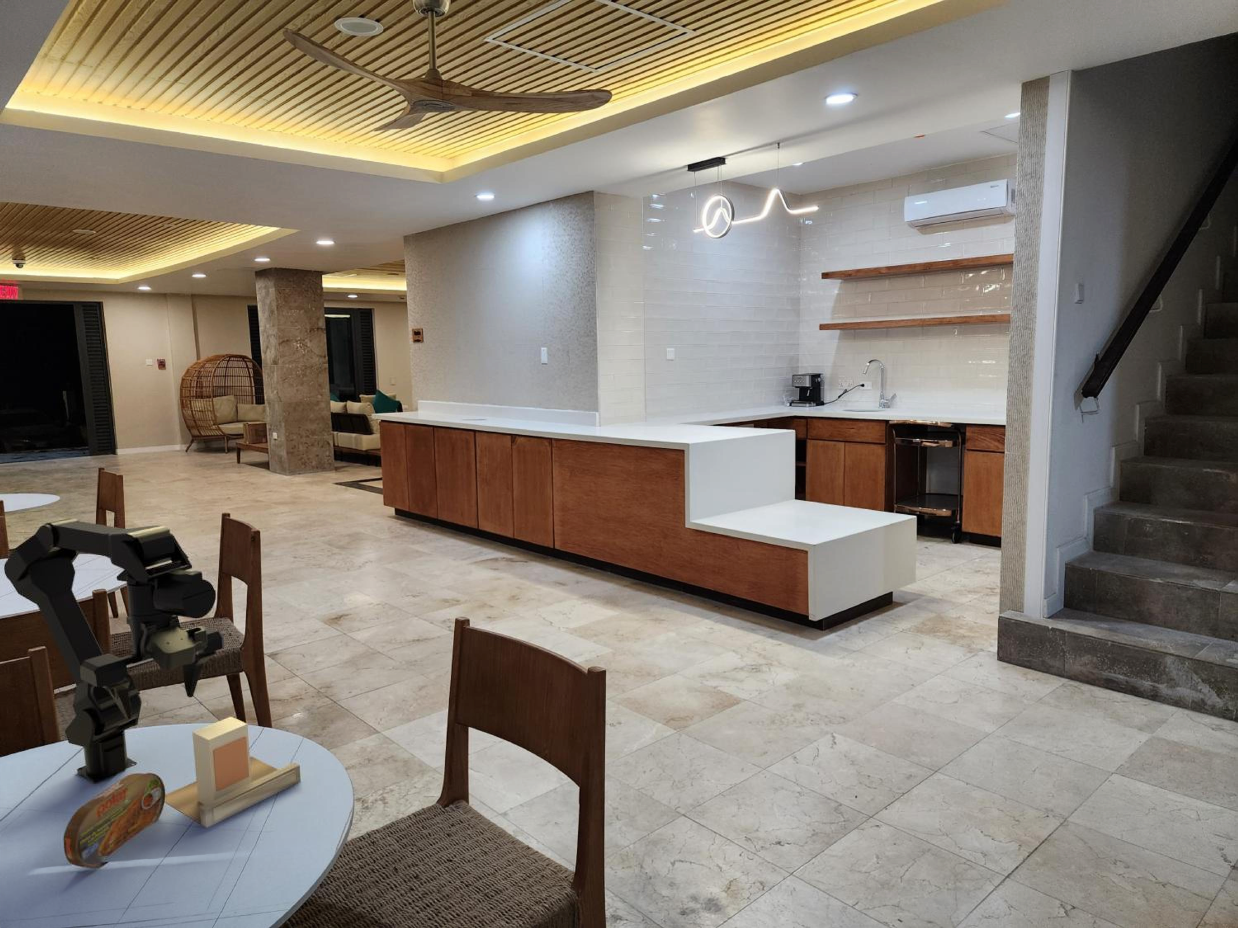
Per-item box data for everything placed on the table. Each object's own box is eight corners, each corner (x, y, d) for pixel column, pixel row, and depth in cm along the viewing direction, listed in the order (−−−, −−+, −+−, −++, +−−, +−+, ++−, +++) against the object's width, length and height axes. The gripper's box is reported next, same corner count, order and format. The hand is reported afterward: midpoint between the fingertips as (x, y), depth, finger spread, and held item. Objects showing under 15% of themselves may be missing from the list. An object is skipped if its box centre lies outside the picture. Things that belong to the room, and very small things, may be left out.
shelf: (158, 801, 121) (157, 781, 121) (251, 759, 133) (250, 741, 133) (208, 832, 113) (206, 811, 113) (302, 784, 126) (300, 765, 125)
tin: (82, 882, 103) (75, 821, 102) (61, 879, 103) (55, 819, 102) (169, 815, 117) (164, 762, 116) (151, 813, 118) (146, 760, 117)
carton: (198, 800, 120) (192, 731, 118) (236, 782, 125) (231, 716, 123) (215, 810, 117) (209, 740, 116) (253, 792, 122) (248, 724, 121)
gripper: (109, 638, 109) (120, 746, 111) (239, 603, 124) (246, 698, 127) (73, 623, 115) (84, 725, 118) (201, 591, 131) (208, 682, 133)
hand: (160, 707), depth 123 cm, fingers open, 9 cm apart
